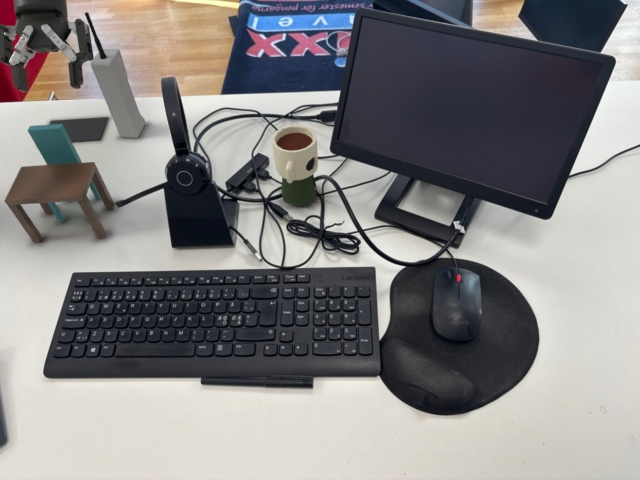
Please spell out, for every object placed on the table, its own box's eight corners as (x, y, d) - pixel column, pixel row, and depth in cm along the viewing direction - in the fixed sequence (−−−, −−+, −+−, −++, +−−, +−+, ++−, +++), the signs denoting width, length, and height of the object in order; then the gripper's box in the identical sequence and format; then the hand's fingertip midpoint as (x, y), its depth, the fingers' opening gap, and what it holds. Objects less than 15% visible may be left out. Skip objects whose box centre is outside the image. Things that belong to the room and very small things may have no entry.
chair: (101, 196, 94) (65, 123, 82) (93, 220, 90) (54, 147, 78) (68, 198, 94) (27, 125, 82) (59, 222, 90) (14, 150, 78)
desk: (33, 243, 87) (4, 200, 80) (47, 209, 92) (21, 166, 85) (105, 238, 87) (82, 195, 80) (115, 204, 92) (94, 161, 85)
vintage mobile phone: (146, 123, 108) (103, 3, 89) (138, 138, 105) (92, 17, 86) (129, 123, 108) (82, 3, 89) (120, 138, 105) (70, 17, 86)
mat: (40, 144, 105) (40, 143, 105) (51, 121, 110) (51, 120, 110) (100, 140, 105) (99, 139, 105) (108, 118, 110) (107, 116, 110)
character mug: (313, 221, 88) (309, 162, 78) (273, 216, 89) (264, 158, 79) (324, 177, 95) (322, 118, 85) (287, 174, 96) (280, 115, 86)
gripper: (-21, -21, 79) (-10, 87, 80) (72, -27, 79) (83, 81, 80) (8, -2, 86) (18, 97, 87) (93, -7, 86) (103, 91, 88)
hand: (49, 89), depth 84 cm, fingers open, 8 cm apart
